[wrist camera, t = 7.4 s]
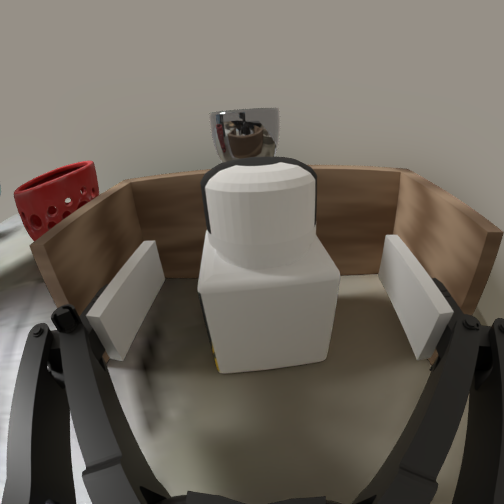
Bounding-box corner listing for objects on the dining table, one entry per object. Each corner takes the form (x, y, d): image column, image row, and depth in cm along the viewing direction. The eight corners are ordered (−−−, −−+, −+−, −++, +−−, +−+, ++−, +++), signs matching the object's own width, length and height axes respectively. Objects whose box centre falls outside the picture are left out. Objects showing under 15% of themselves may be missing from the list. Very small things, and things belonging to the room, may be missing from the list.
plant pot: (25, 267, 30) (1, 194, 25) (78, 229, 41) (62, 165, 35) (67, 279, 27) (35, 184, 21) (128, 231, 38) (111, 153, 32)
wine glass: (243, 250, 30) (231, 109, 23) (211, 228, 36) (197, 114, 29) (296, 229, 34) (294, 107, 27) (259, 212, 40) (253, 109, 32)
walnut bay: (446, 361, 14) (503, 232, 9) (90, 362, 16) (29, 245, 12) (393, 264, 25) (407, 169, 21) (146, 270, 28) (124, 179, 23)
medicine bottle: (218, 305, 22) (196, 157, 16) (303, 296, 22) (306, 149, 17) (217, 376, 16) (175, 186, 10) (327, 362, 16) (352, 173, 10)
